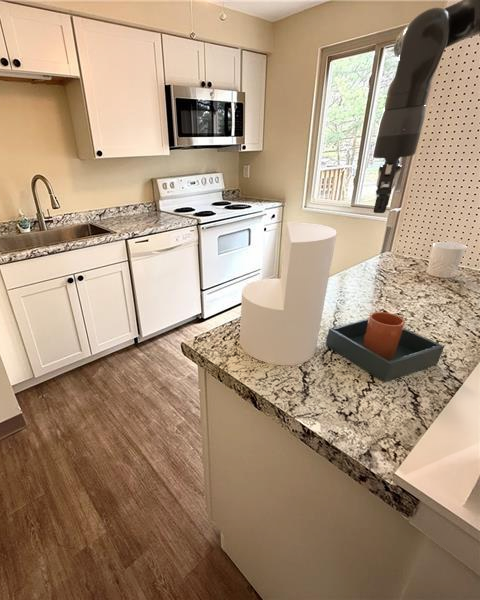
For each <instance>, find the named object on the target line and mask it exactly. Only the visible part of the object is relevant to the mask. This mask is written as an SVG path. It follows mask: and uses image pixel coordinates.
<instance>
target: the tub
mask: <svg viewBox="0 0 480 600" xmlns="http://www.w3.org/2000/svg"><path fill="white" fill-rule="evenodd" d="M368 320H369V317H368V318H364V319H360V320H357V321H352V322H350V323H346V324H342V325H337V326H334V327H331V328H329V329H328V332H327V337H326V343H325V346H326V347H327V348H329V349H331V350H332V351H333V352H335V353H336V354H338V355H340V356H342V357H343V358H345V359H346V360H348V361H349V362H350V363H353V364H354V365H356V366H357V367H359V368H360V369H362V370H364V371H365V372H367V373H368V374H370V375H372V376H373V377H374V378H376V379H378V380H379V381H381V382H382V383H387V382H390V381H393V380H396V379H399V378H402V377H405V376H408V375H410V374H413V373H416V372H420V371H422V370H425V369H429V368H431V367H434V366H437V365H439V361H440V359H441V357H442V353H443V351H444V348H445V345H442V344H441V343H438V342H436V341H434V340H432V339H429V338H427V337H425V336H423V335H421V334H419V333H416V332H414V331H412V330H409V329H407V328H405V327H404V329H403V332H402V335H401V338H400V341H399V344H398V348H397V351H396V354H395V356H394V358H392V359H390V360H386V359H384V358H382V357H381V356H379V355H377V354H375V353H374V352H372V351H370V350H368V349H367V348H365V347H363V346H362V343H363V339H364V335H365V331H366V328H367V324H368Z"/></svg>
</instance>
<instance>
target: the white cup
mask: <svg viewBox="0 0 480 600" xmlns="http://www.w3.org/2000/svg"><path fill="white" fill-rule="evenodd" d="M467 248H468V246H467V245H466V244H463V243H459V242H453V241H438V242H433V244H432V248H431V252H430V256H429V260H428V266H427V269H426V274H427V275H429V276H431V277H434V278H441V279H451V278H454V276H455V273H456V271H457V270H458V268H459V266H460V264H461V262H462V260H463V258H464V255H465V253H466V251H467Z"/></svg>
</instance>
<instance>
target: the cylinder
mask: <svg viewBox="0 0 480 600" xmlns="http://www.w3.org/2000/svg"><path fill="white" fill-rule="evenodd" d="M337 234H338V233H337V230H336V229H335V228H333V227H331V226H329V225H324V224H320V223H313V222H305V221H304V222H302V221H286V223H285V230H284V240H283V250H282V251H283V252H282V261H281V270H280V278H263V279H259V280H255V281H252V282H249V283H247V284H246V285H244V286H243V288H242V290H241V304H240V305H241V306H240V323H239V324H240V325H239V346H240V347H241V349H242V350H243V351H244V352H245V353H246V354H247V355H248V356H250V357H252V358H254V359H255V360H257V361H260V362H263V363H265V364H270V365H275V366H296V365H300V364H305V363H306V362H308V361H310V360H311V359H313V357H314V356H315V355H316V351H317V347H318V340H319V335H320V328H321V323H322V317H323V311H324V307H325V301H326V296H327V295H326V294H327V290H328V284H329V279H330V273H331V269H332V268H331V267H332V261H333V256H334V251H335V245H336V240H337V239H336V238H337Z"/></svg>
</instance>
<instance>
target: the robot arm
mask: <svg viewBox="0 0 480 600" xmlns="http://www.w3.org/2000/svg"><path fill="white" fill-rule="evenodd" d="M479 35H480V0H460V1H458V2H456V3H454V4H452V5H448V6H447V7H445V8H443V7H439V6H437V7H436V6H435V7H431V8H428V9H426V10H424V11H422V12H421V13H419V14H418V15H417V16H415V17H414V18H412V20H411V21H410V22H408V24H407V25H406V26H405V27H404V28H403V29H402V30H401V31H400V32H399V34H398V35H397V36H396V39H395V41H394V44H393V54H394V57H395V58H396V59H397V62H398V63H397V67H396V71H395V75H394V77H393V79H392V81H391V82H390V84H389V87H388V90H387V93H386V97H385V102H384V106H383V112H382V115H381V117H380V121H379V124H378V130H377V133H376V139H375V144H374V149H373V154H372V157H373V158H374V159H384V160H385V161H384V164H382V165H380V166H379V167H378V171H377V176H378V177H377V180H376V188H377V189H376V190H375V196H376V198H375V203H374V207H373V213H375V214H384V213H386V210H387V207H388V206H389V202H390V197H391V195H392V190H393V189H394V187H395V186H396V183H397V181H398V178H399V175H400V174H401V171H402V167H403V164H400V163H401V161H400V159H401V158H406V157H413V156H414V155H415V154H416V151H417V148H418V144H419V140H420V137H421V133H422V129H423V125H424V121H425V117H426V107H427V103H428V100H429V96H430V92H431V88H432V84H433V83H432V82H433V79H434V77H435V73H436V71H437V69H438V67H439V65H440V62H441V60H442V57H443V55H444V52H445V50H446V49H447V48H448V47H451V46H453V45H455V44H457V43H459V42H463V41H464V40H466V39H470V38H473V37H476V36H479Z"/></svg>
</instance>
